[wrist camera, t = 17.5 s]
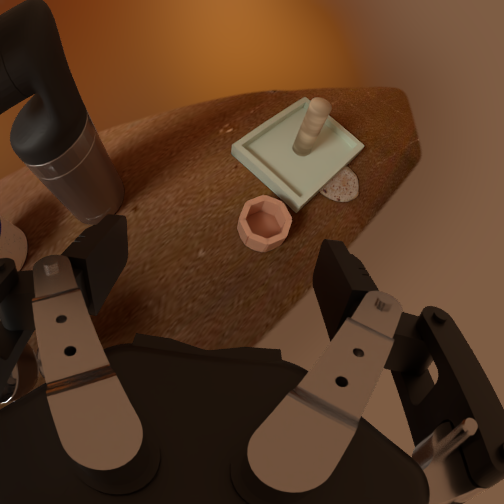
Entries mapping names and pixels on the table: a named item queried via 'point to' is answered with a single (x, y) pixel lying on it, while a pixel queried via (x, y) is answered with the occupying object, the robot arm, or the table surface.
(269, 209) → the pin holder cup
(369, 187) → the table surface
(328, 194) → the flatbread
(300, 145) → the beech pin
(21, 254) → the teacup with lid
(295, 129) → the sage tray
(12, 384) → the wine glass
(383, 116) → the table surface
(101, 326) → the table surface
